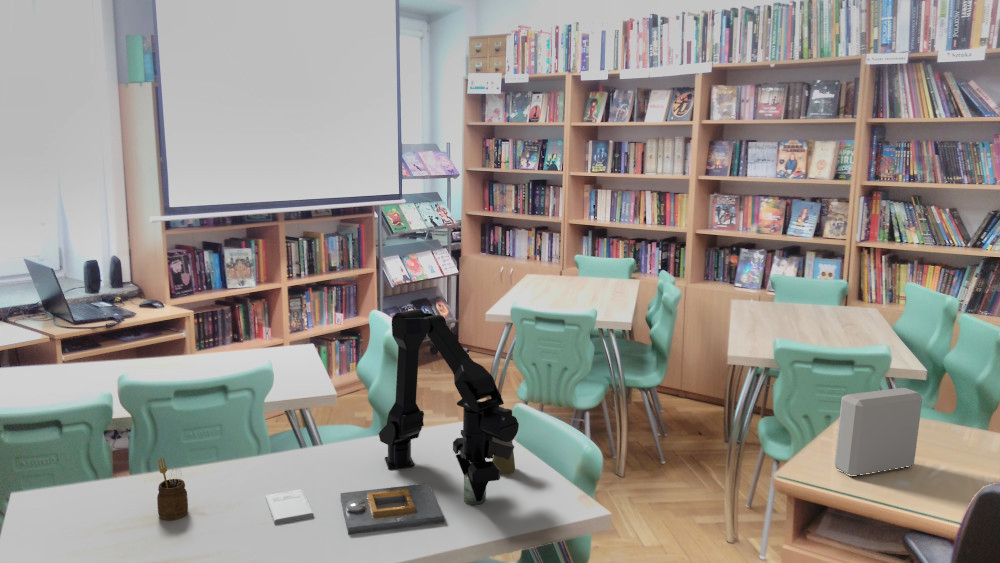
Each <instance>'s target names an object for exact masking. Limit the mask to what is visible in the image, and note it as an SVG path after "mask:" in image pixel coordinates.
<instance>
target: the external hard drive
mask: <svg viewBox="0 0 1000 563" xmlns="http://www.w3.org/2000/svg"><path fill="white" fill-rule="evenodd" d="M265 501H266V504H267V508H268V511H269V512H270V515H271V516H270V517H271V518H272V521H273V524H274V525H277V524H283V523H288V522H294V521H299V520H304V519H311V518H314V517H315V514H314V513H315V512H313V509H312V507H311V505H310V504H309V501H308V499H307V497H306V495H305V492H304V491H303V489H301V488H299V489H293V490H288V491H282V492H281V491H280V492H276V493H269V494H266V495H265Z"/></svg>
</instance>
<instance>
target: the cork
mask: <svg viewBox="0 0 1000 563" xmlns="http://www.w3.org/2000/svg"><path fill="white" fill-rule="evenodd" d="M513 441H514V439H513V440H511V441H510V442H511V443H512V444H513ZM491 461H492V462H494V463H495V464H496V465H497V467H498V468H499V470H500V476H508V475H512V474H514V473H515V472H516V463H515V462H516V461H515V453H514V451H513V452H512V455H511V457H510V460H506V459H505V458H502V457H498V456H494V455H493V458H492V460H491Z"/></svg>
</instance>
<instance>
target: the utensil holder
mask: <svg viewBox="0 0 1000 563" xmlns="http://www.w3.org/2000/svg"><path fill="white" fill-rule="evenodd" d="M157 464H158V469H159V473H160V474H162V475H163V479H164V480H163V481H162V482H160V483H159V484H158V493H157V497H156V502H157V504H156V505H157V512H158V517H159V518H160V519H161V520H165V521H175V520H178V519H181V518H183V517H184V516H186V515H187V513H188V510H189V501H188V500H189V499H188V498H189V497H188V491H187V489H186V483H185V481H184V480H183V479H182V478H176V477H173V478H171V475H173V472H174V471H175V472H174V473H175V475H177V471H178V470H180V468H179V467H178V468H177V467H176V468H175V467H174V468H173V469H171V470H170V472H169V473H170V475H169V478H168V479H167V476H166V473H167V471H168V468H167V464H166V460H165V457H164V456H162V457H160V458H157ZM180 477H182V472H180Z"/></svg>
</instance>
